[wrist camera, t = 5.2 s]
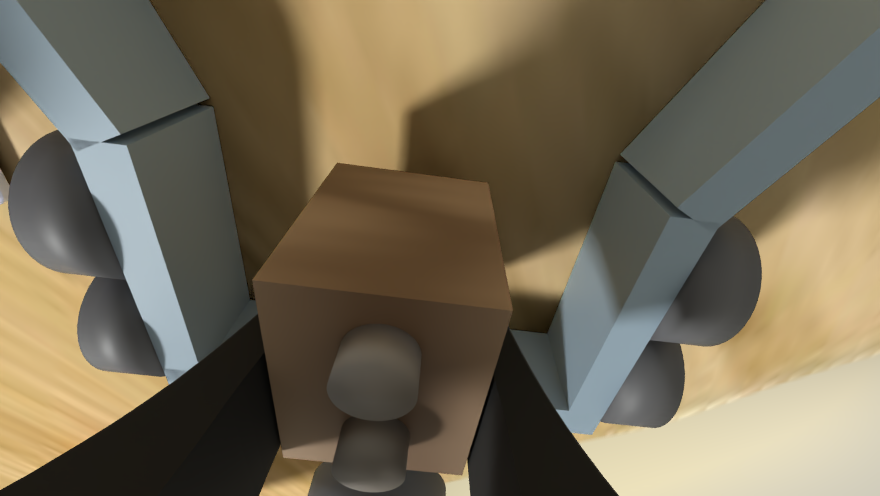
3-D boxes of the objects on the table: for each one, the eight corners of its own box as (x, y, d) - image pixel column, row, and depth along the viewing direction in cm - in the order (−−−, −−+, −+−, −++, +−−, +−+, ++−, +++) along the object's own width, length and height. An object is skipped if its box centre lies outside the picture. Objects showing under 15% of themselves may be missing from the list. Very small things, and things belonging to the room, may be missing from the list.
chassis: (165, 312, 16) (87, 397, 12) (-10, -177, 8) (-341, -302, 5) (620, 362, 16) (662, 455, 13) (849, -35, 9) (1089, -56, 6)
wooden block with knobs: (340, 306, 13) (268, 497, 8) (337, 162, 10) (225, 317, 5) (459, 320, 13) (462, 515, 8) (488, 182, 10) (520, 350, 5)
